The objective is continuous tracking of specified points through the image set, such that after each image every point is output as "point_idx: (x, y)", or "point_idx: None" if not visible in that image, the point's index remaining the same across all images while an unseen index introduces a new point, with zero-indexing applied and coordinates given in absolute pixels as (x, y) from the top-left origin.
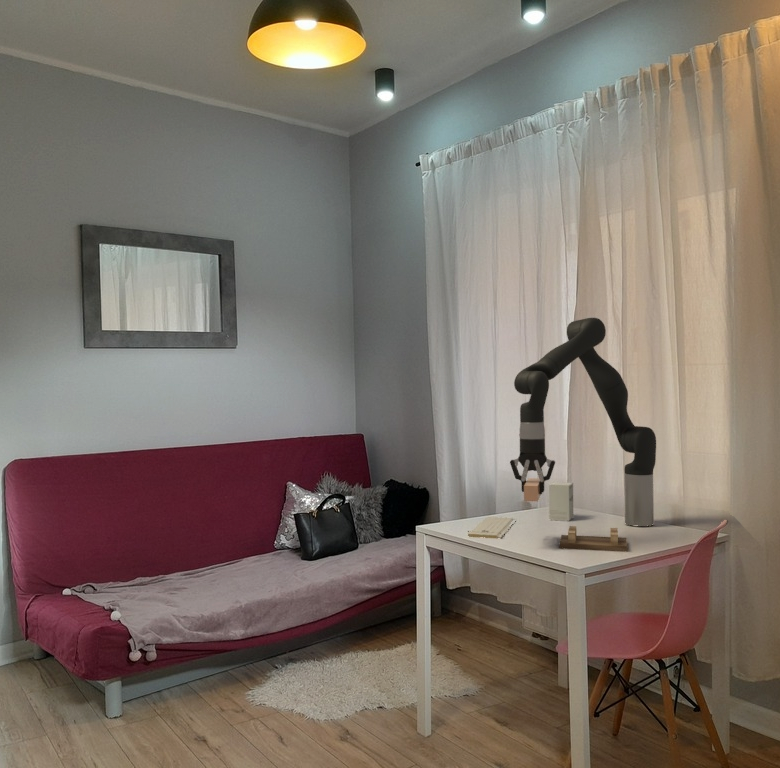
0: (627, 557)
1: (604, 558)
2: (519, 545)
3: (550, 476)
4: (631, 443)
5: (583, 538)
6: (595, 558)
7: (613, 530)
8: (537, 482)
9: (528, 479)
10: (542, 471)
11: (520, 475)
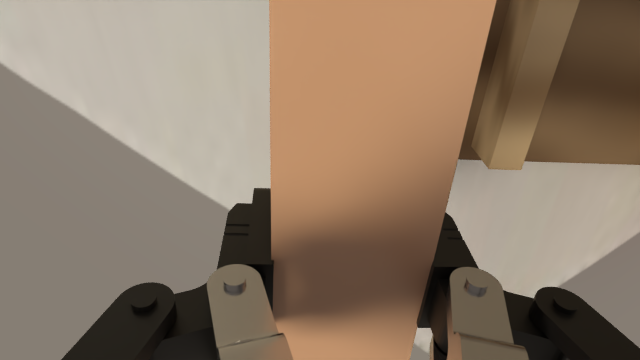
0: (636, 233)
1: (553, 257)
2: (252, 124)
3: (589, 326)
4: None
5: (570, 38)
6: (523, 262)
7: None
8: (400, 308)
9: (281, 74)
10: (525, 353)
11: (185, 342)
